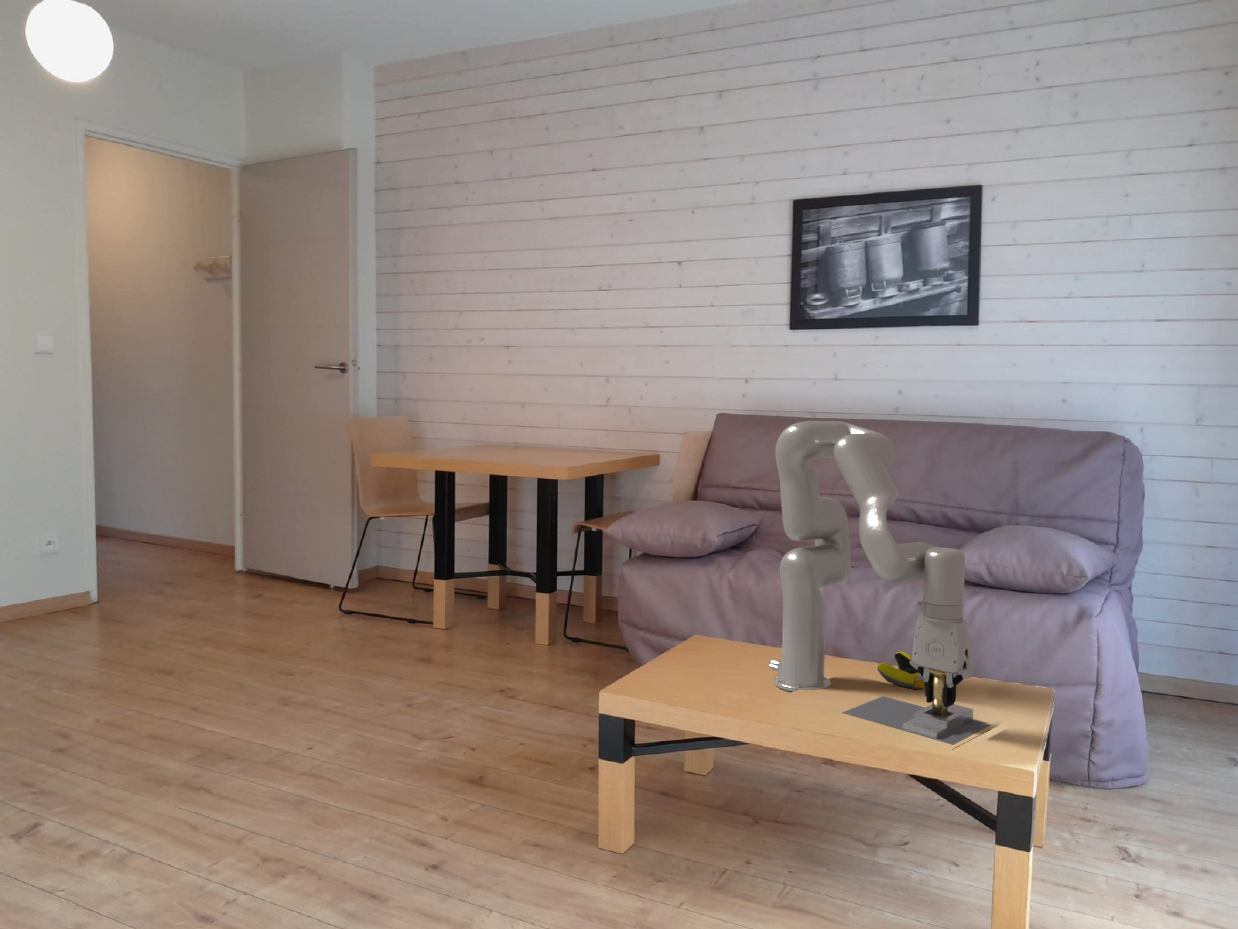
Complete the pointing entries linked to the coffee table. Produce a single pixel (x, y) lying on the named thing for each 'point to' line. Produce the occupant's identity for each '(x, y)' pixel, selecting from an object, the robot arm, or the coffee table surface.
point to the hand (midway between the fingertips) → (940, 702)
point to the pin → (938, 693)
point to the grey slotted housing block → (938, 721)
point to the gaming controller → (902, 672)
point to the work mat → (908, 718)
